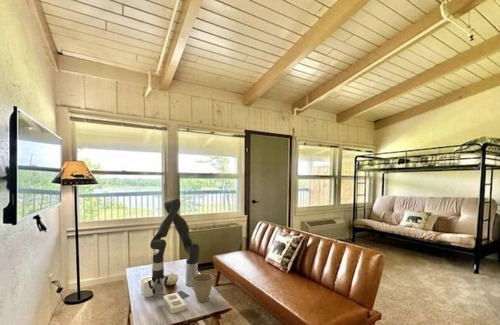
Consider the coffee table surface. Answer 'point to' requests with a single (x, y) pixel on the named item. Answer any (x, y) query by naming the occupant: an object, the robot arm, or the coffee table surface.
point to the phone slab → (182, 294)
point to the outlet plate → (174, 302)
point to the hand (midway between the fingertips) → (157, 292)
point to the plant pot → (202, 286)
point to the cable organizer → (147, 286)
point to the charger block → (158, 290)
